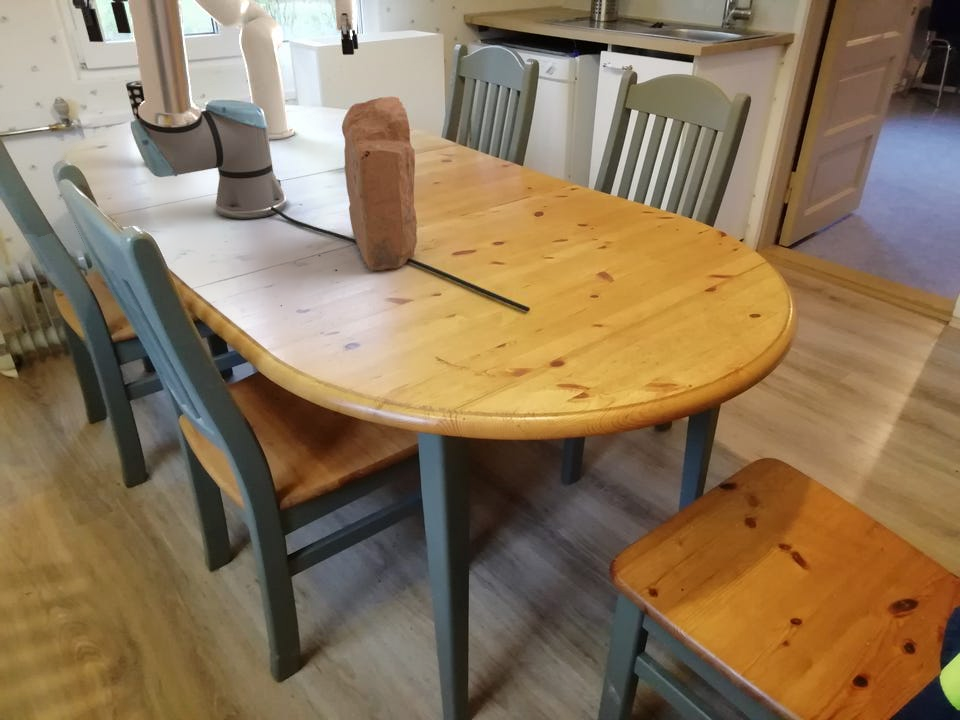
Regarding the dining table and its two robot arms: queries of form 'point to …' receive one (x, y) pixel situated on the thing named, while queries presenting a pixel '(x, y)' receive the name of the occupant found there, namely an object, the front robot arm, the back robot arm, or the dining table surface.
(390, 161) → the stone
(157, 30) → the front robot arm
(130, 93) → the polka dot cylinder
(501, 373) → the dining table surface
